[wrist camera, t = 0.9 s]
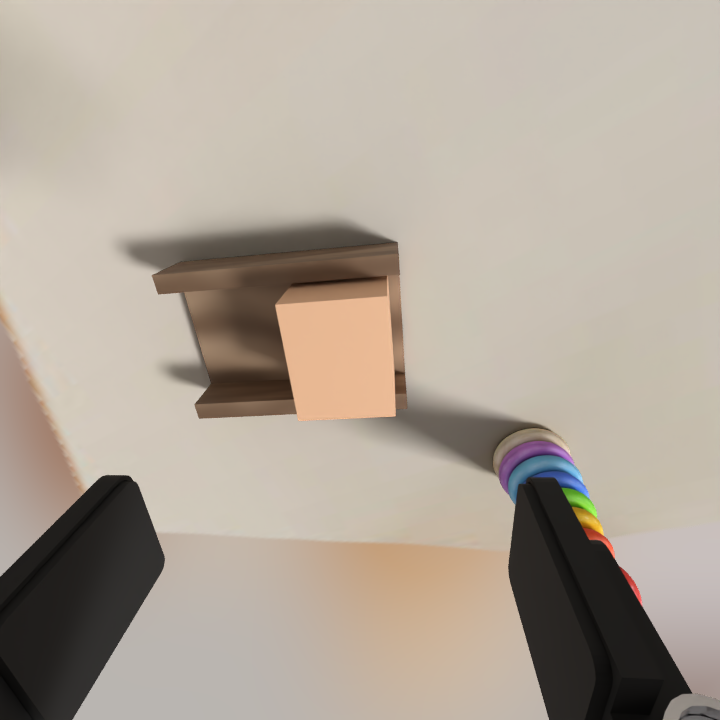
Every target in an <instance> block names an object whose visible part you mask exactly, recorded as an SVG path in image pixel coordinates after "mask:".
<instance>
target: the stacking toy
mask: <svg viewBox="0 0 720 720" xmlns="http://www.w3.org/2000/svg"><path fill="white" fill-rule="evenodd" d="M493 467H494V471H495V473H496V475H497V477H498V478H499V480H500V483H501V485H502V487H503V489H504V490H505V491H506V492H507V493H508V494H509V495H510V498H511V500H512V501H513V503H514V504H515V505H516V498H517V489H518V485H519V484H526V480H527V478H528V477H554V478H556V480H557V481H558V483H559V484H560V486H561V488H562V490H563V492H564V494H565V496H566V497H567V499H568V501H569V503H570V505H571V507H572V509H573V510H574V512H575V514H576V516H577V518H578V520H579V522H580V523H581V525H582V527H583V529H584V531H585V533H586V535H587V537H588V538H589V540H600V541H602V542H603V543H604V544H605V545H606V546H607V547H608V549H609V550H610V552H611V553H612V555H613V557H614V559H615V555H614V550H613V547H612V545H611V543H610V542H609V541H608V539H607V538H606V537H605V536H603V529H602V526H601V524H600V522H599V520H598V519H597V513H596V509H595V507H594V505H593V503H592V502H591V500H590V499H589V494H588V491H587V489H586V487H585V486H584V484H583V480H582V476H581V474H580V472H579V470H578V469H577V468H576V467H575V465H574V462H573V459H572V457H571V453H570V450H569V447H568V445H567V444H566V442H565V441H564V440H563V439H562V438H561V437H560V436H558V435H557V434H555V433H553V432H551V431H548V430H545V429H538V428H531V429H524V430H520V431H517V432H515V433H513V434H511V435H509V436H508V437H506V438H505V439H504V440H503V441H502V442H501V443H500V444H499V445H498V447H497V448H496V450H495V453H494V457H493ZM620 569H621V571H622V572H623V574H624V576H625V578H626V579H627V581H628V583H629V584H630V586H631V588H632V590H633V591H634V593H635V595H636V597H637V598H638V600H639V602H640V604H641V605H642V600H641V596H640V593H639V590H638V588H637V586H636V584H635V582H634V581H633V580H632V578H631V577H630V576H629V575H628V573H627V572H626V571H625V570H623V569H622V568H621V567H620Z"/></svg>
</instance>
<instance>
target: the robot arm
mask: <svg viewBox="0 0 720 720" xmlns="http://www.w3.org/2000/svg"><path fill="white" fill-rule="evenodd" d="M164 561H165V558H164V554H163V551H162V548H161V546H160V543H159V540H158V538H157V535H156V532H155V529H154V527H153V524H152V521H151V519H150V516H149V513H148V510H147V508H146V505H145V502H144V500H143V497H142V494H141V492H140V489H139V486H138V484H137V483H136V482H134V481H133V480H132V478H131V477H130V476H126V475H105V476H102V477H101V478H99V479H98V480H97V481H96V482H95V483H94V484H93V485H92V486H91V487H90V488H89V489H88V490H87V491H86V492H85V493H84V494H83V495H82V496H81V497H80V498H79V499H78V500H77V501H76V502H75V503H74V504H73V505H72V506H71V507H70V508H69V509H68V510H67V511H66V512H65V513H64V514H63V515H62V516H61V517H60V518H59V519H58V520H57V521H56V522H55V523H54V524H53V525H52V526H51V527H50V528H49V529H48V530H47V531H46V532H45V533H44V534H43V535H42V536H41V537H40V538H39V539H38V540H37V541H36V542H35V543H34V544H33V545H32V546H31V547H30V548H29V549H28V550H27V551H26V552H25V553H24V554H23V555H22V556H21V557H20V558H19V559H18V560H17V561H16V562H15V563H14V564H13V565H12V566H11V567H10V568H9V569H8V570H7V571H6V572H5V573H4V574H3V575H2V576H1V577H0V720H72V719H73V718H74V716H75V714H76V713H77V711H78V709H79V708H80V706H81V704H82V703H83V701H84V699H85V698H86V696H87V694H88V693H89V691H90V690H91V688H92V686H93V684H94V683H95V681H96V680H97V678H98V676H99V675H100V673H101V671H102V670H103V668H104V666H105V664H106V663H107V661H108V660H109V658H110V656H111V655H112V653H113V651H114V650H115V648H116V647H117V645H118V643H119V641H120V640H121V638H122V637H123V635H124V633H125V632H126V630H127V628H128V627H129V625H130V623H131V622H132V620H133V618H134V617H135V615H136V613H137V611H138V610H139V608H140V607H141V605H142V603H143V602H144V600H145V598H146V597H147V595H148V593H149V592H150V590H151V589H152V587H153V585H154V584H155V582H156V580H157V579H158V577H159V575H160V574H161V572H162V570H163V567H164ZM508 569H509V578H510V583H511V586H512V590H513V594H514V597H515V601H516V604H517V607H518V611H519V615H520V618H521V622H522V625H523V629H524V632H525V636H526V639H527V643H528V647H529V650H530V654H531V657H532V661H533V664H534V668H535V671H536V675H537V678H538V682H539V685H540V688H541V693H542V696H543V699H544V703H545V706H546V710H547V714H548V717H549V720H720V700H718V699H716V698H712V697H708V696H705V695H701V694H693V693H692V692H691V690H690V688H689V687H688V685H687V683H686V681H685V680H684V678H683V676H682V675H681V673H680V671H679V669H678V668H677V666H676V664H675V662H674V661H673V659H672V657H671V655H670V654H669V652H668V650H667V648H666V647H665V645H664V643H663V642H662V640H661V638H660V637H659V635H658V633H657V631H656V630H655V628H654V626H653V624H652V623H651V621H650V619H649V617H648V616H647V614H646V612H645V611H644V609H643V607H642V605H641V604H640V602H639V600H638V598H637V597H636V595H635V593H634V591H633V590H632V588H631V586H630V584H629V583H628V581H627V579H626V578H625V576H624V574H623V572H622V571H621V569H620V567H619V565H618V564H617V562H616V560H615V559H614V557H613V555H612V553H611V552H610V550H609V549H608V547H607V546H606V545H605V544H604V543H603V542H602V541H600V540H589V538H588V537H587V535H586V533H585V531H584V529H583V527H582V525H581V523H580V522H579V520H578V518H577V516H576V514H575V512H574V510H573V509H572V507H571V505H570V503H569V501H568V499H567V497H566V496H565V494H564V492H563V490H562V488H561V486H560V484H559V483H558V481H557V480H556V478H554V477H528V478H527V480H526V484H519V485H518V489H517V498H516V506H515V514H514V523H513V531H512V540H511V548H510V557H509V566H508Z"/></svg>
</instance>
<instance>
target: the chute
mask: <svg viewBox="0 0 720 720" xmlns="http://www.w3.org/2000/svg"><path fill="white" fill-rule="evenodd" d="M399 275H400V270H399V253H398V243H397V242H395V243H384V244H373V245H362V246H351V247H340V248H328V249H317V250H306V251H295V252H284V253H273V254H262V255H251V256H240V257H229V258H218V259H207V260H195V261H184V262H179V263H177V264H175V265H173V266H171V267H169V268H166V269H164V270H162V271H160V272H158V273H156V274H154V275H152V277H153V280H154V283H155V286H156V289H157V292H158V294H169V293H181V292H184V294H185V298H186V301H187V304H188V308H189V311H190V314H191V318H192V321H193V324H194V328H195V331H196V334H197V338H198V341H199V344H200V348H201V351H202V354H203V358H204V361H205V364H206V368H207V371H208V374H209V378H210V381H211V385H210V386H209V387H208V388H207V390H206V391H205V392H204V393H203V395H202V396H201V397H200V398H199V400H198V401H197V402H196V403H195V408H196V411H197V414H198V417H199V419H201V418H222V417H243V416H264V415H285V414H297V412H296V407H295V402H294V397H293V392H292V387H291V382H290V377H289V372H288V367H287V362H286V357H285V352H284V347H283V342H282V337H281V332H280V327H279V322H278V317H277V312H276V307H275V304H276V303H277V302H278V301H279V299H280V298H281V297H282V296H283V294H284V293H285V292H286V291H287V289H288V288H289V287H290V286H291V284H292V283H303V282H316V281H328V280H340V279H352V278H364V277H377V276H388V285H389V299H390V313H391V328H392V342H393V357H394V371H395V408H396V409H407V394H406V381H405V366H404V349H403V331H402V313H401V296H400V278H399Z"/></svg>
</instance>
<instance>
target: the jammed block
mask: <svg viewBox="0 0 720 720" xmlns="http://www.w3.org/2000/svg"><path fill="white" fill-rule="evenodd" d="M275 307H276V312H277V317H278V322H279V327H280V332H281V337H282V342H283V347H284V352H285V357H286V362H287V367H288V372H289V377H290V382H291V387H292V392H293V397H294V402H295V407H296V412H297V417H298V421H306V420H328V419H350V418H372V417H394V416H396V408H395V371H394V357H393V342H392V328H391V313H390V299H389V285H388V276H377V277H364V278H352V279H340V280H328V281H316V282H303V283H292V284H291V286H290V287H289V288H288V289H287V291H286V292H285V293H284V294H283V296H282V297H281V298H280V299H279V301H278V302H277V303H276V304H275Z"/></svg>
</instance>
